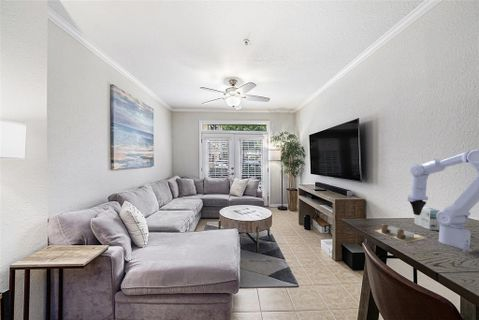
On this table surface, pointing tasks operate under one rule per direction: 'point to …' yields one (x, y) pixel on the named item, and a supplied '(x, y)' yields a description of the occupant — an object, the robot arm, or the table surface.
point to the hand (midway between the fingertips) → (416, 214)
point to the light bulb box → (428, 218)
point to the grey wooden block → (393, 231)
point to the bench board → (416, 237)
